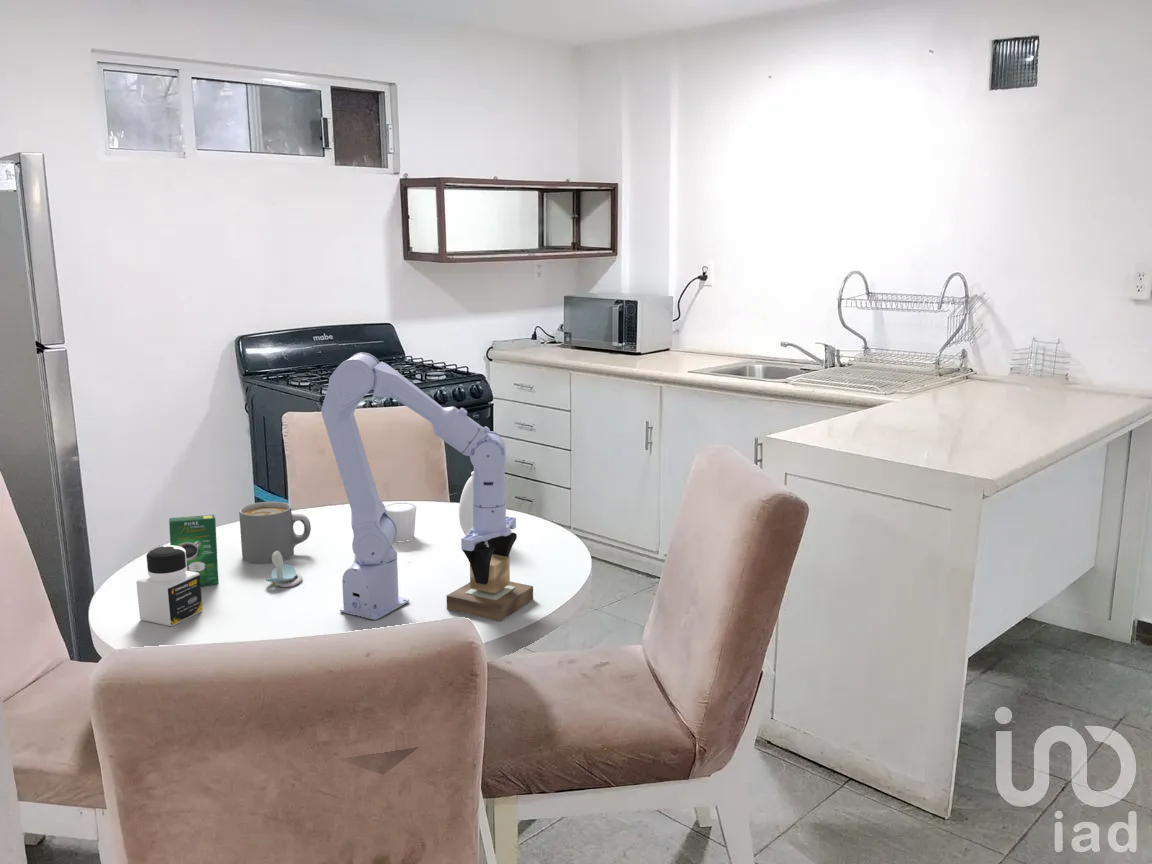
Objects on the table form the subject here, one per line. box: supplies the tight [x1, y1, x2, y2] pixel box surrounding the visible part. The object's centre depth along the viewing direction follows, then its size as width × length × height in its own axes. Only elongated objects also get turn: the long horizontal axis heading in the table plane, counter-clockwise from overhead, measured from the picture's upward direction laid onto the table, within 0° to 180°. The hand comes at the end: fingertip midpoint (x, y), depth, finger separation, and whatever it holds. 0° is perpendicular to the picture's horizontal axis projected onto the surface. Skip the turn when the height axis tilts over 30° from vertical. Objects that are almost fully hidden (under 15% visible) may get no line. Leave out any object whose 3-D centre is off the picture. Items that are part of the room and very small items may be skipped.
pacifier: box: [265, 551, 303, 588], centre depth 170 cm, size 7×6×6 cm
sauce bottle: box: [458, 470, 474, 536], centre depth 193 cm, size 8×8×18 cm
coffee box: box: [168, 514, 220, 587], centre depth 168 cm, size 8×3×13 cm, turn 113°
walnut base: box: [446, 581, 534, 622], centre depth 160 cm, size 11×11×3 cm
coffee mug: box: [238, 501, 312, 565], centre depth 184 cm, size 13×10×10 cm
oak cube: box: [469, 554, 511, 593], centre depth 160 cm, size 5×5×5 cm
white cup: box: [384, 502, 417, 542], centre depth 196 cm, size 7×7×7 cm
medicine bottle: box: [135, 544, 203, 627], centre depth 154 cm, size 7×7×12 cm
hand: (490, 577), depth 160 cm, fingers closed on oak cube, 5 cm apart
